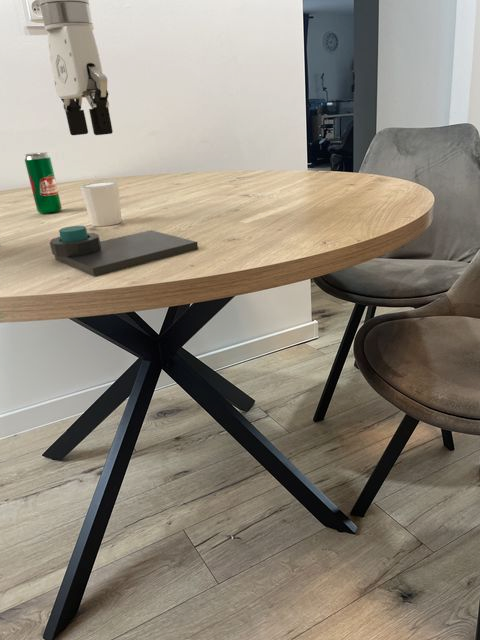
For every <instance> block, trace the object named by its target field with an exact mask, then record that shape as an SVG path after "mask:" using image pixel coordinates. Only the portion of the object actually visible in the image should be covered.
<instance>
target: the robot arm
mask: <svg viewBox="0 0 480 640" xmlns="http://www.w3.org/2000/svg"><path fill="white" fill-rule="evenodd" d="M89 1H90V0H38V2H39V6H40V7H39V8H40V12H41V17H42V21H43V25H44V30H45V32H46V33H47V43H48V52H49V58H50V59H49V60H50V64H51V70H52V75H53V81H54V87H55V92H56V95H57V96H58V98H60V100H61V102H62V103H63V104H62V105H63V110H64V113H65V116H66V120H67V124H68V130H69V133H70V135H71V136H80V135H87V134H88V133H89V129H88V124H87V120H86V114H85V111H84V109H82V103H83V98H86V101H87V102H88V105H89V106H90V108H88V112H89V117H90V122H91V127H92V132H93V135H94V136H103V135H112V134H113V132H114V131H113V125H112V120H111V116H110V115H111V114H110V111H109V110H110V109H109V108H110V102H109V100H108V98H109V91H108V77H107V76H106V74H104V73H103V67H102V61H101V58H100V54H99V50H98V46H97V43H96V39H95V35H94V32H93V30H94V29H95V28H94V22H93V17H92V11H91V5H90V2H89Z"/></svg>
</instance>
